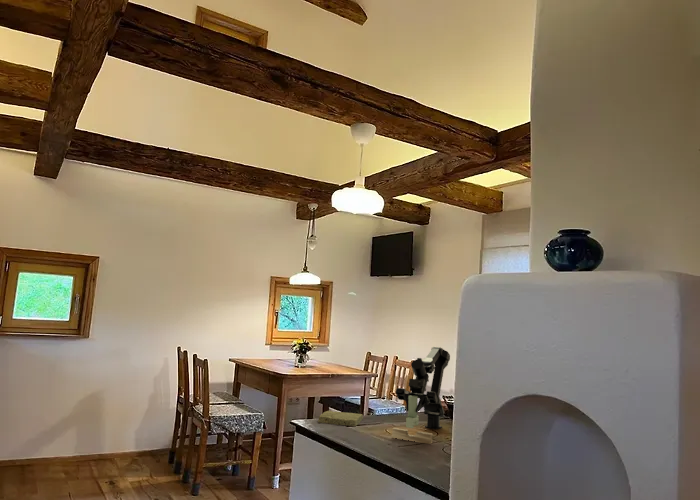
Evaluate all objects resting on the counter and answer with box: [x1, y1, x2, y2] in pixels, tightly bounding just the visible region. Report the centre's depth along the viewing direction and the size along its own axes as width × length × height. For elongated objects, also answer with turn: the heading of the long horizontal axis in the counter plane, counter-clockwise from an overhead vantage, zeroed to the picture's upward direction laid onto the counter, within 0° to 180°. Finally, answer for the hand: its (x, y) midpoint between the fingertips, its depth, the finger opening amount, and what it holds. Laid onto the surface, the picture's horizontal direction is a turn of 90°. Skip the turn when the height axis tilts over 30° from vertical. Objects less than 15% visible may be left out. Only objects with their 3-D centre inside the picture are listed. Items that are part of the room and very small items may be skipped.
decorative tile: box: [317, 410, 364, 427], centre depth 271 cm, size 19×20×4 cm
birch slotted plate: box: [391, 427, 433, 445], centre depth 237 cm, size 2×18×4 cm, turn 64°
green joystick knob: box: [405, 395, 420, 429], centre depth 238 cm, size 8×4×13 cm, turn 153°
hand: (411, 411), depth 237 cm, fingers closed on green joystick knob, 4 cm apart
